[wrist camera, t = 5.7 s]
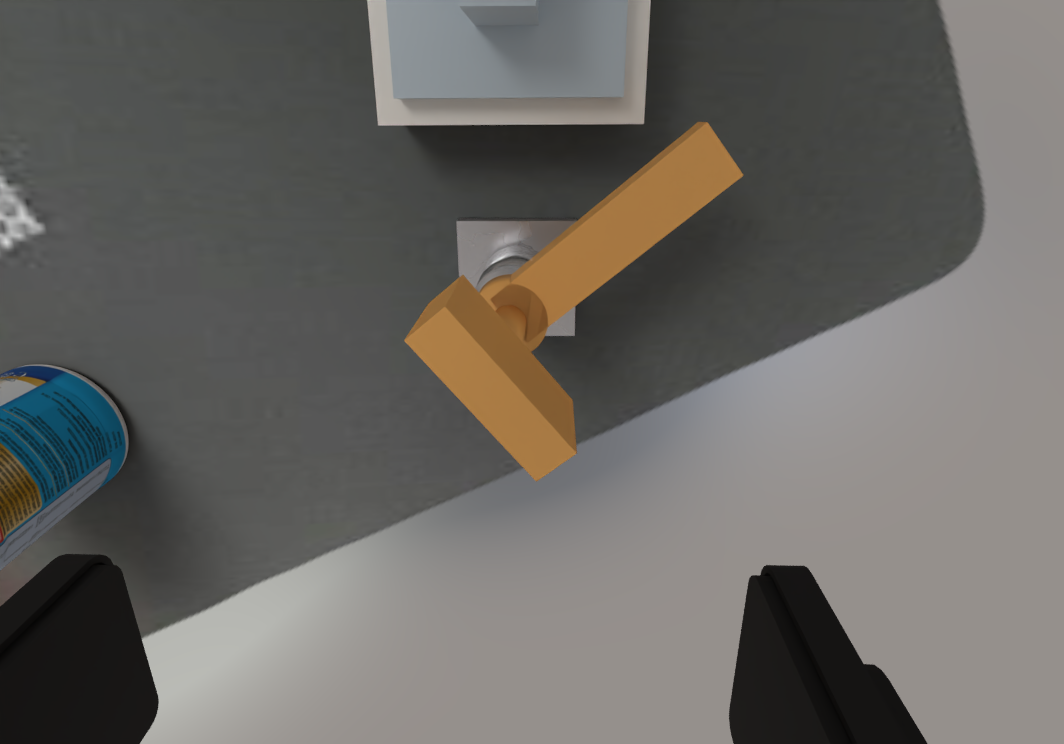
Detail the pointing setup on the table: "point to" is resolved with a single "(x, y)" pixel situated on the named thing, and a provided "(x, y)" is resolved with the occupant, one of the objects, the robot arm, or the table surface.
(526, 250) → the grey square flange base
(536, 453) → the latch
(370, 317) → the table surface
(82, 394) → the beverage bottle
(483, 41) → the cover
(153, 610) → the table surface
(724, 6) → the table surface
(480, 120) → the housing
